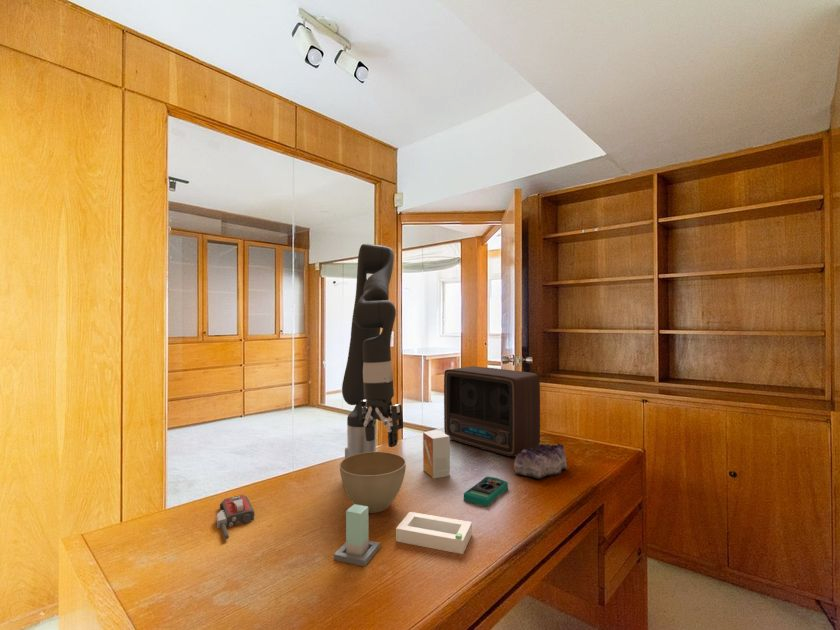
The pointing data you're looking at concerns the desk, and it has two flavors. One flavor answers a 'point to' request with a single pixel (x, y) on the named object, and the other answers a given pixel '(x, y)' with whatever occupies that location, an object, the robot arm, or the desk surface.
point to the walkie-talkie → (234, 513)
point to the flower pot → (373, 478)
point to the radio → (492, 408)
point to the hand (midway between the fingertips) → (381, 443)
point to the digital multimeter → (486, 491)
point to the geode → (541, 461)
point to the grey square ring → (357, 560)
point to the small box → (436, 453)
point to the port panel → (434, 532)
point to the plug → (357, 530)
